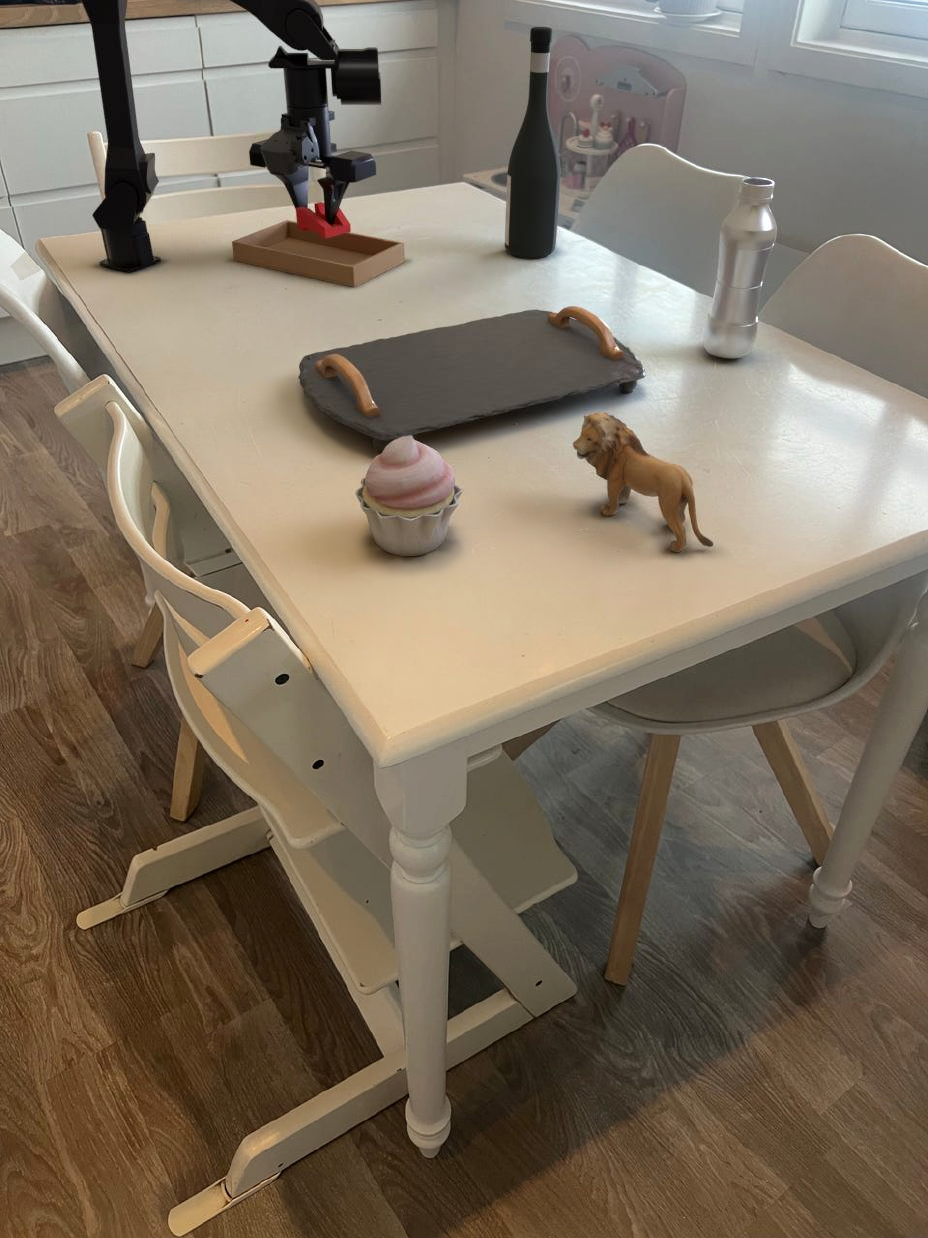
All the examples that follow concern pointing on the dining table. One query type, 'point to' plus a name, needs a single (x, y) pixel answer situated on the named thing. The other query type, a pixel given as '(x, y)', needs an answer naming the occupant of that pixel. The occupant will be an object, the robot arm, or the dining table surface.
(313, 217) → the bracket
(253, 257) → the cardboard box
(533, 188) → the wine bottle
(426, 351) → the serving tray
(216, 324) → the dining table surface
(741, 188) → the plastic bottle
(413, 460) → the cupcake
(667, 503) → the lion figurine
